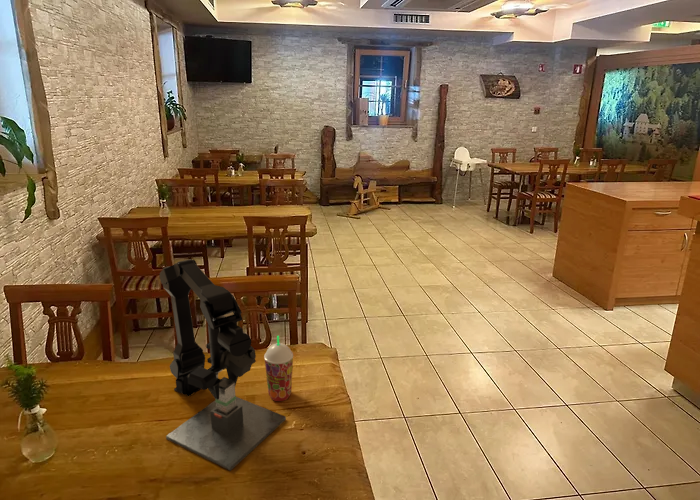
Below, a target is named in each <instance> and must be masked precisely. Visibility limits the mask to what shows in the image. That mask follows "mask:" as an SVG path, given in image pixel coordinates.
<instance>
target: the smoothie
mask: <svg viewBox="0 0 700 500" xmlns="http://www.w3.org/2000/svg"><path fill="white" fill-rule="evenodd" d="M263 359H264V366H265V375H266V383H267V385H266V386H267V390H268V391H267V392H268V396H269V397H270V399H271V400H273V401H274V402H283V401H286V400H287V399H289V397H290V395H291V394H292V387H293V385H292V383H293V382H292V381H293V364H294V362H293V361H294V353H293V351H292V350H291V348H290V347H289V346H288V345H287V344H285V343H282V342H280V335H277V336H276V343H273V344H271V345H270V346H269V347H267V350H266V352H265V353H264V355H263Z"/></svg>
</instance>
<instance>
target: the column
mask: <svg viewBox="0 0 700 500" xmlns="http://www.w3.org/2000/svg"><path fill="white" fill-rule="evenodd" d="M220 379H221V380H222V381H221V382H220V383H219V399H218V400H217V399H215V398H214V399H215V400H214V401H215V402H216V411H217V412H219V413H221V414H224V415H226V416H227V415H228V414H230V413H231V412H232V411H234V410H235V409H236V397H237V396H236V386H235V382H234V380H231V379H229V378H228V377H226V376H223V377H222V378H220Z"/></svg>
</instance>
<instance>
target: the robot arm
mask: <svg viewBox="0 0 700 500" xmlns="http://www.w3.org/2000/svg"><path fill="white" fill-rule="evenodd" d="M159 280H160V283H161V285H162V287H163V289H164V290H165V292H167V294H169V296H170V299H171V307H172V313H173V319H174V320H173V321H174V324H175V325H174V326H175V331H176V332H175V333H176V338H177V344H176V346H175V348H174V350H173V352H172V354H173V360H172V362H171V363H170V365H169V369H170V370H169V371H170V373H171V374H172V375H173V376H174V378H175V387H174V389H173V391H174V392H176V393H179V394H182V395H184V396H186V397H191V396H192V395H194V394H195V393H197V392H198V391H200V390H203V391H204V390H205V391H206V390H208V391H209V392H210V394H211V395H212V397H213V398H214V399H217V400H218V399H219V383H220V382H221V381H222V380H221V379H222V378H219V374H220V372H222V371H224V370H225V371H226V373H227V378H228V379H231V380H234V382H235V387H236V385H237V381H238V379H239V377H240V378H241V377H243V376H244V375H245V374H247V372H250V371H251V367H252V365H253V364H254V363H256V362H257V361H256V358H257V356H256V350H255V349H254V347H253V346H252V339H251V337H250V335H249V334H248V333H246V332H245V331H244V328H243V327H241V326H240V325H239V326H238V322H241V321H243V317H242V311H241V309H240V306H239V304H238V301H237V299H236V298H235V296H234V295H233V294H232V292H230V290H228V289H227V288H226V287H224V286H220V285H217V284H214V282H212V280H211V279H210V277H208V276H207V274H206V273H205V272H203V271H202V269H201V268H200V267H199V266H198V263H197V260H196V259H192V258H190V259H184V260H179V261H177V262H175V263H174V264H172V265H169V266H165V267H162V269H161V271H160V272H159ZM191 290H192V291H193V293H194V294H195V295H196V296H197V297H198V299H199V300H200V304H199V307H200V309H201V313H202V315H203V317H204V319H205V320H206V322H207V330H208V341H209V342H208V343H206V344H205V347H206V349H209V354H210V357H208V358H207V363H208V364H210V367H208V368H205V366H206V365H205V363H206V355H205V354H204V350H203V348H202V347H201V346H200V345H199V344H198V343H197V342H196V340H195V332H194V326H193V324H194V323H193V319H192V312H191V305H190V298H189V294H190V292H191ZM232 313H233V314H232ZM228 314H231V315H228ZM226 315H228V316H226Z"/></svg>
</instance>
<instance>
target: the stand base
mask: <svg viewBox="0 0 700 500" xmlns="http://www.w3.org/2000/svg"><path fill="white" fill-rule="evenodd" d="M286 418H287V416H285V415H283V414H280V413H278V412H275V411H273V410H271V409H268V408H265V407H262V406H260V405H258V404H255V403H253V402H251V401H248V400H245V399H243V398H240V397H238V396H236V409H235V410H234V411H232V412H231V413H230V414H228V415H227V416H226V415H224V414H221V413H219V412H217V411H216V402H215V400H214V401H212V402H210V403H209V404H208V405H206V406H205V407H204V408H202V409H201V410H200V411H198V412H197V413H196V414H194V415H193V416H192V417H190V418H189V419H188V420H186V421H184V422H182V424H180V425H179V426H178V427H176V428H175V429H174V430H172V431H171V432H169V433H168V434H167V435H166V436H165V438H166V441H167V440H168V441H169V442H171V443H173V444H176V445H178V446H180V447H182V448H184V449H186V450H188V451H190V452H192V453H194V454H195V455H198V456H199V457H202V458H204V459H206V460H208V461H210V462H212V463H214V464H216V465H217V466H220V467H222V468H224V469H226V470H228V471H230V472H231V471H232V470H234V468H235V467H236V466H237V465H239V464H240V462H242V461H243V460H244V459H245V458H246V457H247V456H248V455H249V454H250V453H251V452H252V451H254V449H256V448H257V446H259V445H260V444H261V443H262V442H263V441H264V440H266V439H267V438H268V437H269V436H270V435H271V434H272V433H273V432H275V430H276V429H278V428H279V426H280V425H282V424H283V423H284V422H285V421H286Z"/></svg>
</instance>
